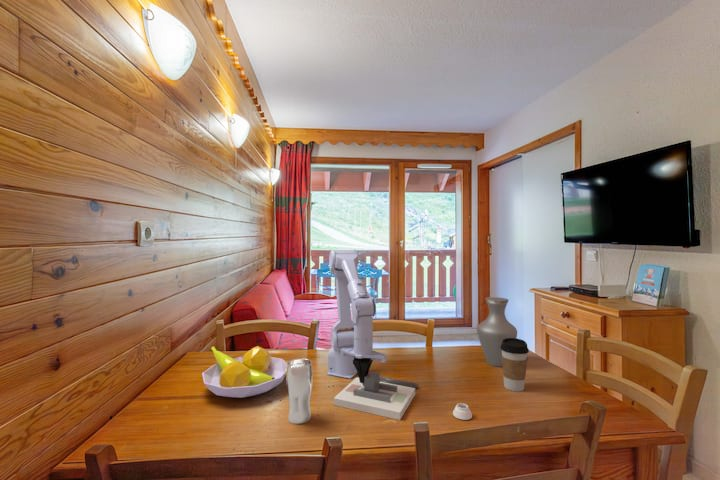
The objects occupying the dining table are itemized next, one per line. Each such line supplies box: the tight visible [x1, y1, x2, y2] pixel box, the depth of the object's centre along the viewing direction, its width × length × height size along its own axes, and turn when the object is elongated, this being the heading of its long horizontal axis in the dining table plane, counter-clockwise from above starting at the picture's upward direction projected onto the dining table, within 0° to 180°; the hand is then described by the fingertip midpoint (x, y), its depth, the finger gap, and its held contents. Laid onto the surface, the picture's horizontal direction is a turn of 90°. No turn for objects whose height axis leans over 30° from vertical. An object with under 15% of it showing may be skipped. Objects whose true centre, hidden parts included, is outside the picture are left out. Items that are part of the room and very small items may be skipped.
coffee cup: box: [500, 338, 530, 392], centre depth 111 cm, size 8×8×15 cm
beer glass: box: [285, 357, 314, 425], centre depth 92 cm, size 7×7×15 cm
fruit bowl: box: [201, 345, 288, 399], centre depth 111 cm, size 28×27×11 cm
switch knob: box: [364, 370, 381, 393], centre depth 103 cm, size 3×5×5 cm, turn 156°
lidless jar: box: [452, 402, 473, 421], centre depth 94 cm, size 5×3×5 cm
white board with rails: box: [333, 376, 419, 421], centre depth 105 cm, size 20×21×4 cm
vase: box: [476, 296, 518, 368], centre depth 132 cm, size 14×14×25 cm
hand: (363, 381), depth 104 cm, fingers closed
